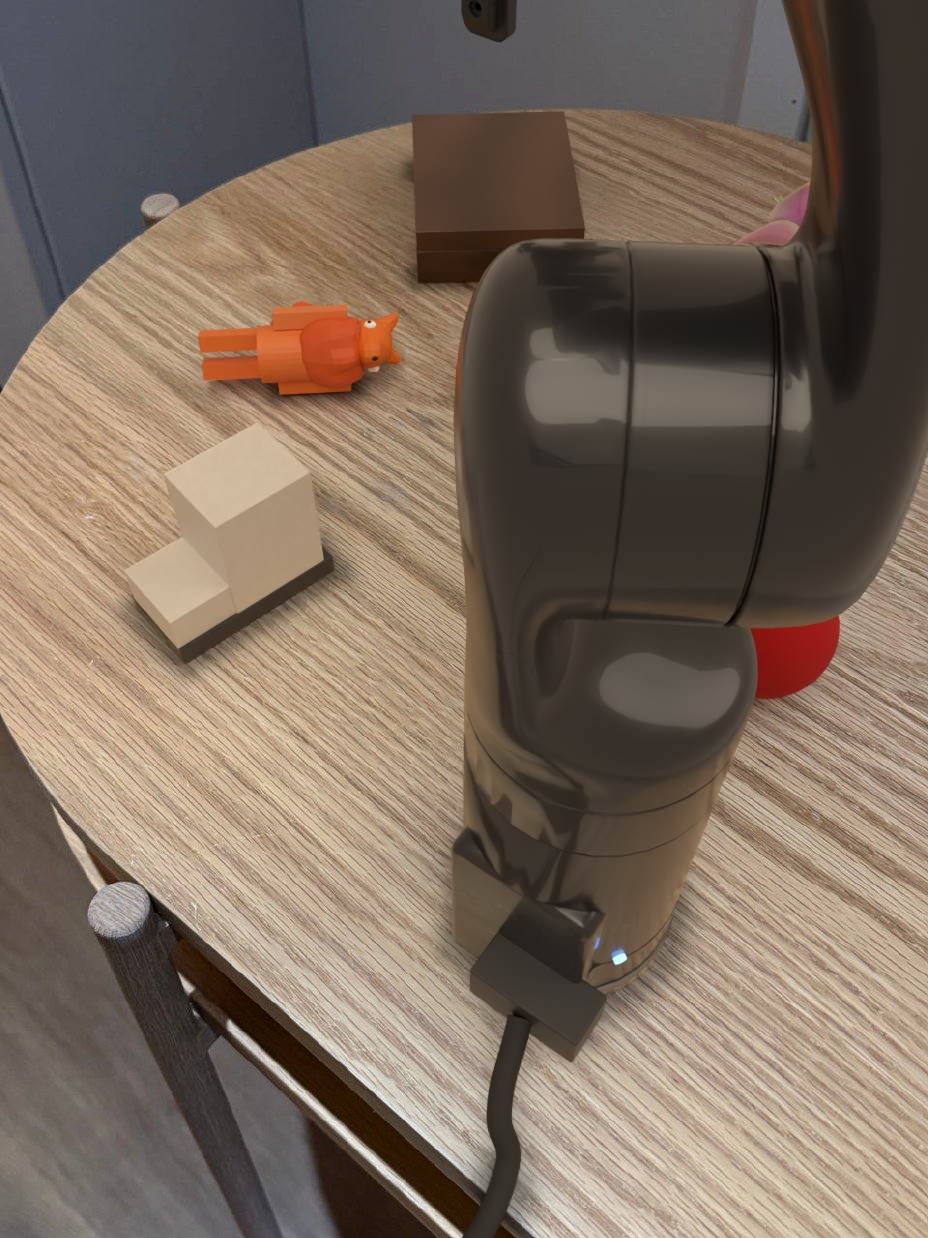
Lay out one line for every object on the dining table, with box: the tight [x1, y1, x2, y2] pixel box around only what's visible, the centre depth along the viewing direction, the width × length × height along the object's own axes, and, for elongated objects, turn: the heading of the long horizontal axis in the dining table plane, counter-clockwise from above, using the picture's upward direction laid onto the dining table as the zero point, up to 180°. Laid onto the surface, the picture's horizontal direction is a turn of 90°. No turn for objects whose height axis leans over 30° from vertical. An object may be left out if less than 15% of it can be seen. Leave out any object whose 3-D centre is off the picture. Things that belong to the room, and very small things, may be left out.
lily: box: [725, 180, 810, 246], centre depth 75 cm, size 12×12×10 cm
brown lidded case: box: [411, 110, 586, 284], centre depth 80 cm, size 11×14×4 cm
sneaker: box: [123, 422, 335, 664], centre depth 59 cm, size 10×5×8 cm, turn 131°
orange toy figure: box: [197, 300, 402, 396], centre depth 70 cm, size 5×8×12 cm
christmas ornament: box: [750, 615, 841, 700], centre depth 55 cm, size 7×7×10 cm
